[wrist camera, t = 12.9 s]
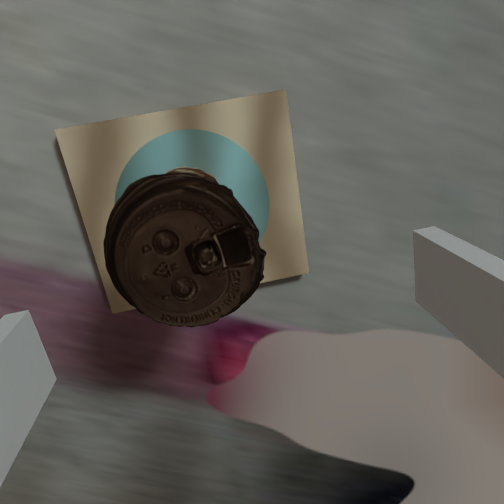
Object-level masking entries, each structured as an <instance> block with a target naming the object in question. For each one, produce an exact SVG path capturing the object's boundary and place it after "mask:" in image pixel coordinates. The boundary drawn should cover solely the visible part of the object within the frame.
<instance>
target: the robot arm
mask: <svg viewBox="0 0 504 504" xmlns="http://www.w3.org/2000/svg"><path fill="white" fill-rule="evenodd" d="M413 240H414V268H415V296H416V302H417V303H418V304H419V305H421V306H422V307H423V308H424V309H425V310H426V311H427V312H429V313H430V314H431V315H432V316H433V317H434V318H435V319H437V320H438V321H439V322H440V323H441V324H442V325H443V326H445V327H446V328H447V329H448V330H449V331H450V332H451V333H453V334H454V335H455V336H456V337H457V338H458V339H459V340H461V341H462V342H463V343H464V344H465V345H466V346H467V347H469V348H470V349H471V350H472V351H473V352H474V353H475V354H476V355H478V356H479V357H480V358H481V359H482V360H483V361H484V362H486V363H487V364H488V365H489V366H490V367H491V368H492V369H494V370H495V371H496V372H497V373H498V374H499V375H500V376H502V377H503V378H504V260H502V259H500V258H498V257H496V256H494V255H492V254H490V253H488V252H486V251H484V250H482V249H480V248H478V247H476V246H473V245H471V244H469V243H467V242H465V241H463V240H461V239H459V238H457V237H455V236H453V235H451V234H449V233H447V232H445V231H443V230H441V229H439V228H437V227H435V226H433V227H428V228H423V229H418V230H414V231H413ZM55 381H56V377H55V374H54V372H53V369H52V367H51V364H50V362H49V359H48V357H47V354H46V352H45V349H44V347H43V344H42V342H41V340H40V337H39V335H38V332H37V330H36V327H35V325H34V322H33V320H32V317H31V315H30V312H29V310H26V311H21V312H17V313H12V314H7V315H4V316H3V317H2V318H1V319H0V487H1V485H2V483H3V481H4V479H5V477H6V475H7V473H8V471H9V469H10V467H11V466H12V464H13V462H14V460H15V458H16V456H17V454H18V452H19V450H20V448H21V446H22V445H23V443H24V441H25V439H26V437H27V435H28V433H29V431H30V429H31V427H32V425H33V423H34V422H35V420H36V418H37V416H38V414H39V412H40V410H41V408H42V406H43V404H44V402H45V401H46V399H47V397H48V395H49V393H50V391H51V389H52V387H53V385H54V383H55Z"/></svg>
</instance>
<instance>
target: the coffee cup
mask: <svg viewBox="0 0 504 504" xmlns="http://www.w3.org/2000/svg"><path fill="white" fill-rule="evenodd" d="M258 239H259V230H258V228H257V227H256V225H255V223H254V221H253V219H252V217H251V216H250V215H249V214H248V213H247V211H246V210H245V209H244V208H243V207H242V205H241V204H240V203H239V202H238V200H237V199H236V198H235V197H234V196H233V191H232V189H230V188H228V187H227V186H225V185H220V184H219V183H218V182H217V180H216V178H215V177H214V176H213V175H212V174H210V173H207V172H204V171H202V170H200V169H199V168H196V167H195V168H190V167H187V166H183V167H177V168H173V169H171V170H169V171H167V172H166V173H165V174H160V175H150V176H146V177H143V178H140V179H138V180H136V181H135V182H133V183H131V184H130V185H129V186H128V187H127V188H126V189H125V191H124V193H123V194H122V196H121V197H120V198H119V199H118V200H117V202H116V204H115V205H114V207H113V209H112V211H111V213H110V215H109V219H108V222H107V225H106V232H105V238H104V243H103V245H104V257H105V266H106V269H107V272H108V274H109V276H110V278H111V281H112V283H113V285H114V287H115V288H116V290H117V291H118V292H119V294H120V295H121V296H122V297H123V298H124V299H125V300H126V301H127V302H128V303H129V304H130V305H131V306H133V307H135V308H136V309H137V310H138V311H139V312H141V313H142V314H145V315H146V316H148V317H150V318H152V319H153V320H154V321H156V322H158V323H164V324H168V325H170V326H179V327H181V326H187V327H195V326H203V325H208V324H212V323H215V322H217V321H218V320H219V318H221V317H224V316H226V315H229V314H230V313H232V312H234V311H236V310H237V309H238V308H239V307H240V306H241V305H242V304H243V303H245V302H246V301H247V300H248V299H249V298H250V297H251V296H252V294H253V293H254V292H255V291H256V289H257V288H258V287H259V283H260V282H261V281H262V280H263V279H264V275H263V271H264V258H265V256H266V251H265V250H263V249H261V247H260V245H259V241H258Z"/></svg>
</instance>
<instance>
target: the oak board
mask: <svg viewBox="0 0 504 504" xmlns="http://www.w3.org/2000/svg"><path fill="white" fill-rule="evenodd" d="M55 133H56V136H57V140H58V143H59V146H60V149H61V152H62V155H63V159H64V162H65V165H66V168H67V171H68V174H69V177H70V181H71V184H72V187H73V190H74V193H75V196H76V200H77V203H78V206H79V209H80V212H81V215H82V219H83V222H84V225H85V228H86V231H87V234H88V238H89V241H90V244H91V247H92V250H93V253H94V256H95V260H96V263H97V266H98V269H99V272H100V275H101V279H102V282H103V285H104V288H105V291H106V294H107V298H108V301H109V304H110V307H111V310H112V313H113V314H115V313H119V312H124V311H129V310H134V309H136V308H135V307H133V306H131V305H130V304H129V303H128V302H127V301H126V300H125V299H124V298H123V297H122V296H121V295H120V294H119V292H118V291H117V290H116V288H115V287H114V285H113V283H112V281H111V278H110V276H109V274H108V272H107V269H106V266H105V257H104V245H103V243H104V238H105V232H106V225H107V222H108V219H109V215H110V213H111V211H112V209H113V207H114V205H115V204H116V202H117V200H118V199H119V198H120V197H121V196H122V194H123V193H124V191H125V189H126V188H127V187H128V186H129V185H130V184H131V183H133V182H135V181H136V180H138V179H140V178H143V177H146V176H150V175H160V174H165V173H166V172H167V171H169V170H171V169H173V168H177V167H183V166H187V167H190V168H195V167H196V168H199V169H200V170H202V171H204V172H207V173H210V174H212V175H213V176H214V177H215V178H216V180H217V182H218V183H219V184H220V185H225V186H227V187H228V188H230V189H232V191H233V196H234V197H235V198H236V199H237V200H238V202H239V203H240V204H241V205H242V207H243V208H244V209H245V210H246V211H247V213H248V214H249V215H250V216H251V217H252V219H253V221H254V223H255V225H256V227H257V228H258V230H259V239H258V241H259V245H260V247H261V249H263V250H265V251H266V256H265V258H264V271H263V275H264V279H263V280H262V281H261V282H260V283H264V282H268V281H273V280H278V279H283V278H288V277H292V276H297V275H302V274H307V273H309V268H308V260H307V252H306V244H305V236H304V228H303V220H302V212H301V204H300V196H299V188H298V180H297V173H296V165H295V157H294V149H293V141H292V133H291V125H290V117H289V109H288V101H287V93H286V90H281V91H275V92H269V93H264V94H258V95H252V96H246V97H241V98H235V99H229V100H223V101H218V102H212V103H206V104H200V105H194V106H189V107H183V108H177V109H171V110H166V111H160V112H154V113H148V114H143V115H137V116H131V117H125V118H120V119H114V120H108V121H102V122H96V123H91V124H85V125H79V126H73V127H68V128H62V129H56V130H55Z"/></svg>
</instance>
